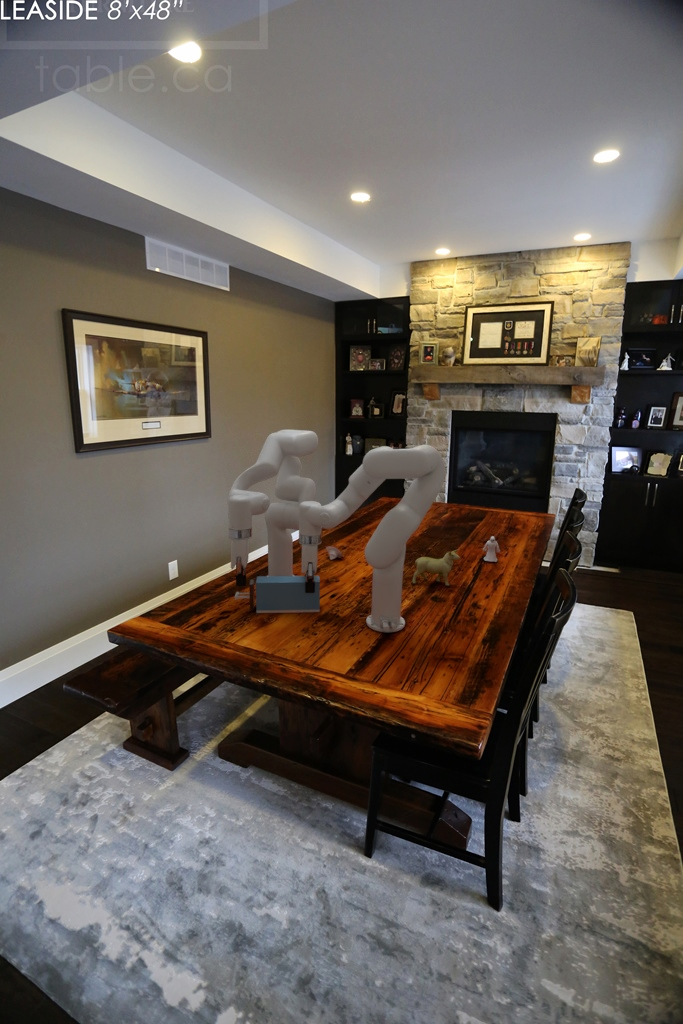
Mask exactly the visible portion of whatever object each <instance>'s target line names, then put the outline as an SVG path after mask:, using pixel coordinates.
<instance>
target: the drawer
mask: <svg viewBox="0 0 683 1024" xmlns="http://www.w3.org/2000/svg"><path fill="white" fill-rule="evenodd" d="M248 588H249V590H248V591H249V592H239V591H236V592H235V594H234V600H239V599H249V610H250V611H253V610H254V609H255V606H256V592H255V579H250V580H249V584H248Z"/></svg>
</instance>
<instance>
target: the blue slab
mask: <svg viewBox="0 0 683 1024" xmlns="http://www.w3.org/2000/svg"><path fill="white" fill-rule="evenodd" d="M255 580H256V581H255V606H256V608H255V613H256V614H281V613H283V614H284V613H286V614H287V613H320V611H321V608H320V607H321V604H320V603H321V580H320V575H314V581H315V593H305V581H306V576H305V575H295V576H268V575H265V576H262V575H259V576H257V575H256V579H255Z"/></svg>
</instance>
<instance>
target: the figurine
mask: <svg viewBox="0 0 683 1024" xmlns="http://www.w3.org/2000/svg"><path fill="white" fill-rule="evenodd" d="M482 551H483V552H486V554H485V556H484V557H483V560H484V561H485V562H495V563H498V558H497V554H496V553H498V554H499V553H501V550H500V547H499V543H498V541H497V540H496V538H495V536H493V535H492V536H490V539H489V540H487V542H486V543H485V544H484V546H483V548H482Z"/></svg>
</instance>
